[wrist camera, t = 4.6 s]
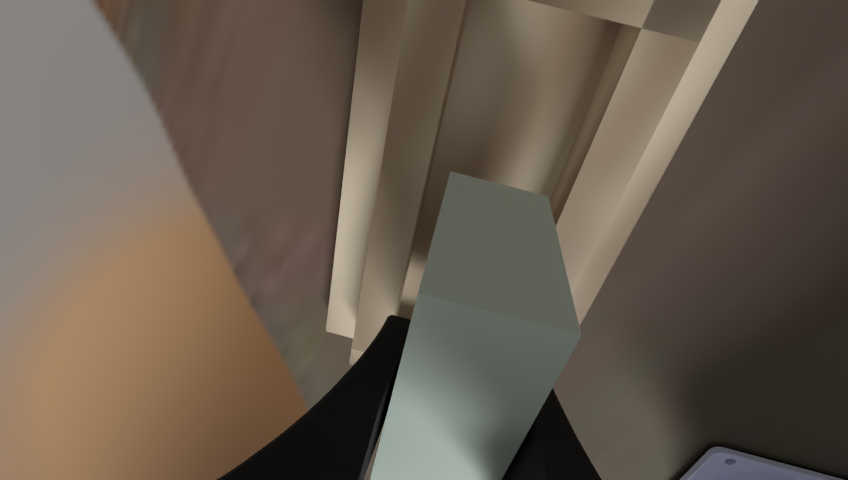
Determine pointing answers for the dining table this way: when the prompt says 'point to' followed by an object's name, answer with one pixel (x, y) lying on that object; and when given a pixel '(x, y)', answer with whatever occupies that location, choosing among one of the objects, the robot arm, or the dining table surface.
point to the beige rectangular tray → (513, 128)
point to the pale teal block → (479, 337)
